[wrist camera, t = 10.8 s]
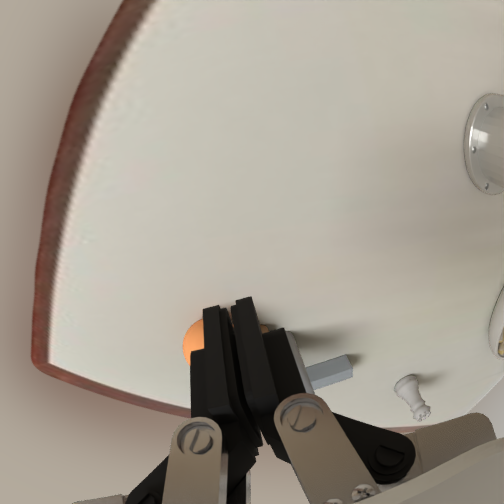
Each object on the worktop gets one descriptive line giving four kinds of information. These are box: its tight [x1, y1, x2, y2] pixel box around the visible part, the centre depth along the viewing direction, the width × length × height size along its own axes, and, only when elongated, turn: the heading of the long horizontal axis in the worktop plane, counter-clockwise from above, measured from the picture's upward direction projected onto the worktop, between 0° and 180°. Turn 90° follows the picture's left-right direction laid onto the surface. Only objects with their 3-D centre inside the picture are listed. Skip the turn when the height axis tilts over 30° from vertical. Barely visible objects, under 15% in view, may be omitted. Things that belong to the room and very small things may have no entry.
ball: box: [183, 319, 234, 365], centre depth 30 cm, size 6×6×6 cm
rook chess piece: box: [394, 375, 431, 422], centre depth 41 cm, size 4×4×8 cm
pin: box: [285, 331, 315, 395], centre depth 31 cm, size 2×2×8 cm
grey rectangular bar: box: [306, 355, 353, 390], centre depth 37 cm, size 20×2×2 cm, turn 103°
